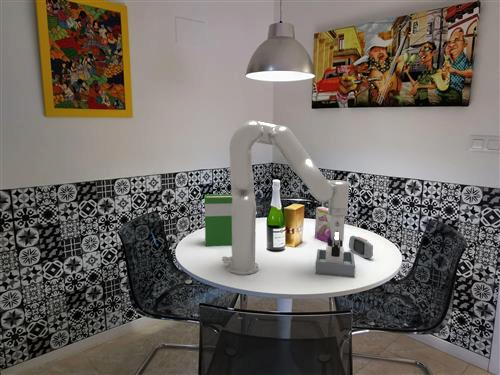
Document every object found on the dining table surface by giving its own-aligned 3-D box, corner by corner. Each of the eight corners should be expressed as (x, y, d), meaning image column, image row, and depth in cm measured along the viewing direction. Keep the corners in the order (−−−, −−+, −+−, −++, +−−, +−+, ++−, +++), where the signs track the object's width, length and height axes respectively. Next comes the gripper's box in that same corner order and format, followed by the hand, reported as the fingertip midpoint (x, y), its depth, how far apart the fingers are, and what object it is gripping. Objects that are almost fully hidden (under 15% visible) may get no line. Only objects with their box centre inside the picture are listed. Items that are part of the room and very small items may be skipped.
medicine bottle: (343, 269, 147) (344, 240, 146) (325, 267, 149) (326, 239, 147) (343, 263, 154) (344, 235, 153) (325, 262, 156) (326, 234, 154)
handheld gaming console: (347, 250, 173) (348, 234, 172) (352, 249, 174) (353, 233, 173) (368, 261, 160) (370, 243, 159) (374, 260, 161) (375, 242, 160)
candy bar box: (314, 238, 190) (315, 207, 187) (321, 236, 193) (322, 206, 190) (330, 244, 181) (331, 212, 178) (337, 242, 184) (338, 210, 181)
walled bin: (315, 273, 146) (315, 261, 145) (317, 260, 161) (317, 249, 160) (354, 277, 143) (355, 265, 142) (352, 263, 157) (353, 252, 157)
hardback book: (240, 240, 186) (240, 193, 181) (242, 245, 179) (242, 197, 174) (205, 241, 184) (204, 194, 179) (205, 246, 176) (204, 197, 172)
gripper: (348, 217, 138) (345, 261, 141) (346, 206, 155) (344, 246, 158) (327, 216, 140) (325, 259, 143) (328, 205, 157) (326, 244, 160)
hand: (335, 252), depth 151 cm, fingers open, 8 cm apart
